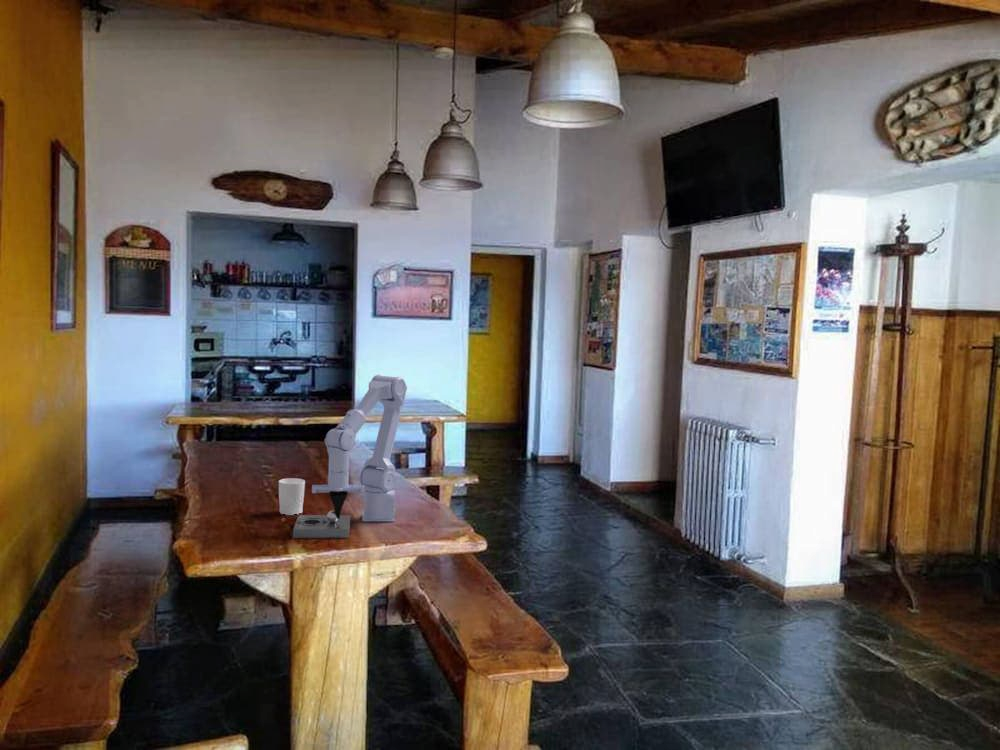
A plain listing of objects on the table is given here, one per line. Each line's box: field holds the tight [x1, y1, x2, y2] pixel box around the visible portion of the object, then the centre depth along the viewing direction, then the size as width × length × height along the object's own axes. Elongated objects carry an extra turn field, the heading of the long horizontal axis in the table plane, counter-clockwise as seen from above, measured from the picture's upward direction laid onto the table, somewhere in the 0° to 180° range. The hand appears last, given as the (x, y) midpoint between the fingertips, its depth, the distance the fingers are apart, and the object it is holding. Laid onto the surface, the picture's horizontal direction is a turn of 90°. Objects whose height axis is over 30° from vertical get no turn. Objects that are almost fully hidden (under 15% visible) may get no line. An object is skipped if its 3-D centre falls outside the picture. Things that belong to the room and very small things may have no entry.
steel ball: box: [326, 509, 339, 522], centre depth 215 cm, size 3×3×3 cm
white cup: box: [278, 477, 306, 516], centre depth 232 cm, size 8×8×10 cm
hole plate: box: [292, 514, 351, 539], centre depth 215 cm, size 15×15×2 cm
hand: (337, 517), depth 215 cm, fingers closed, pressing on steel ball
